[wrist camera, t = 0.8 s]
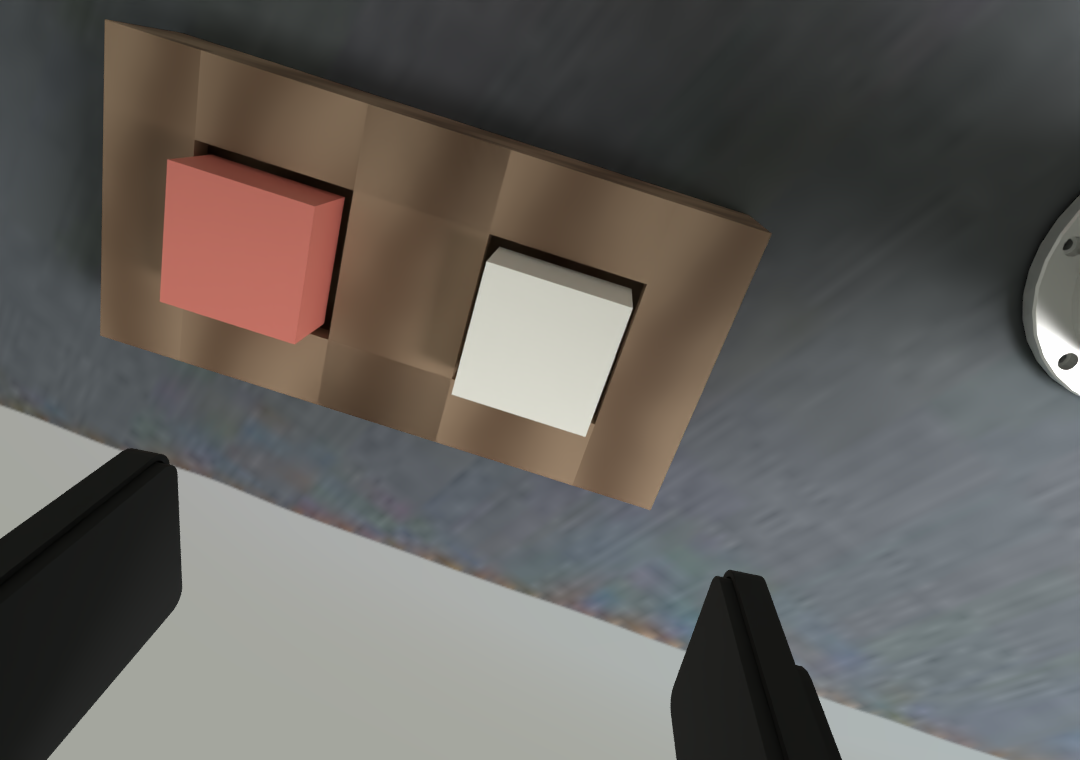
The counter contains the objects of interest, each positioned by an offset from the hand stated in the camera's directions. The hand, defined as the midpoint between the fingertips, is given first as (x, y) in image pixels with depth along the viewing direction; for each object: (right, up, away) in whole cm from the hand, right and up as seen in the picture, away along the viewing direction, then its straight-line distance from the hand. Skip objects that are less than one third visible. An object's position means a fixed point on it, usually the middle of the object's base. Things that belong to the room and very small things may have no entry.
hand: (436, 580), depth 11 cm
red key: (-10, +10, +18) cm, 23 cm away
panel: (-4, +9, +22) cm, 24 cm away
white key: (+2, +6, +18) cm, 19 cm away
